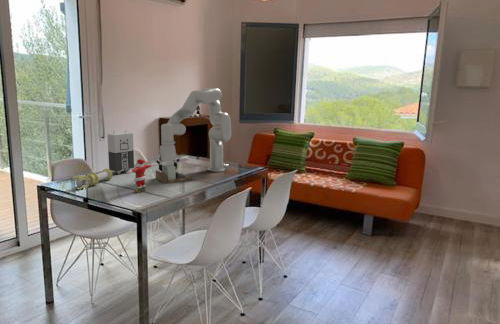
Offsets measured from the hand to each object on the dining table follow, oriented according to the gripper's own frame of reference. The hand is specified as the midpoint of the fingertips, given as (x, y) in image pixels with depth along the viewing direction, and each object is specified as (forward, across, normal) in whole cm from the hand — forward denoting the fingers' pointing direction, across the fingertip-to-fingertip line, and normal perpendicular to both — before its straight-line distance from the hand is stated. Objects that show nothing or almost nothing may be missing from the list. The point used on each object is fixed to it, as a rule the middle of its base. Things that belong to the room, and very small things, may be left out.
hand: (168, 169), depth 240 cm
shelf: (+7, -4, 0) cm, 7 cm away
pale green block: (+5, 0, 0) cm, 5 cm away
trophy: (+7, +44, -8) cm, 45 cm away
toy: (+7, +20, -34) cm, 40 cm away
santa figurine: (+7, +24, +19) cm, 31 cm away
